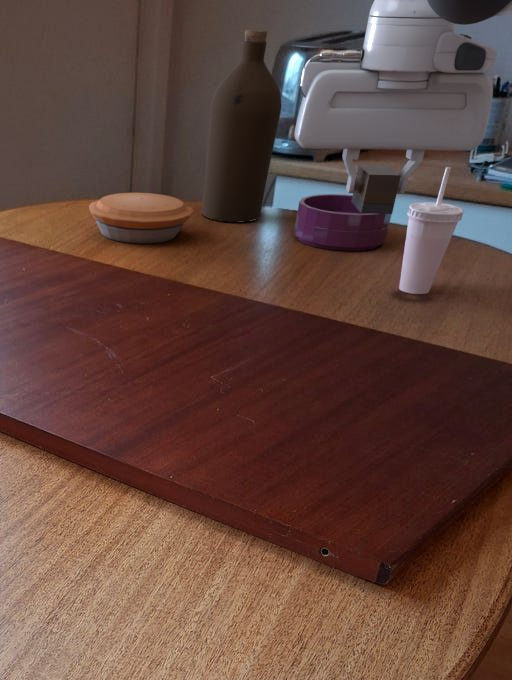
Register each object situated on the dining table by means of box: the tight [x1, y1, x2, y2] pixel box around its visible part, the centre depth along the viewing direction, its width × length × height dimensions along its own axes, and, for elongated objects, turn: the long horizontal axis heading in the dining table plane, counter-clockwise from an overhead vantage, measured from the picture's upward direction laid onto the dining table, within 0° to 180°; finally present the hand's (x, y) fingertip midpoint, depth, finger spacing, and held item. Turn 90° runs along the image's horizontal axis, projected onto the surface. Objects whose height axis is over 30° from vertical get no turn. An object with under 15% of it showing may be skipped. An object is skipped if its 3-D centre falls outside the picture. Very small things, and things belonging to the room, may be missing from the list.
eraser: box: [351, 164, 401, 215], centre depth 102 cm, size 6×4×4 cm, turn 175°
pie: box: [88, 192, 194, 245], centre depth 131 cm, size 15×16×5 cm
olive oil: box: [201, 29, 282, 224], centre depth 135 cm, size 11×11×25 cm
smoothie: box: [398, 166, 464, 295], centre depth 108 cm, size 6×6×14 cm
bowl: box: [293, 193, 393, 252], centre depth 130 cm, size 13×13×5 cm
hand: (374, 192), depth 102 cm, fingers closed on eraser, 3 cm apart
